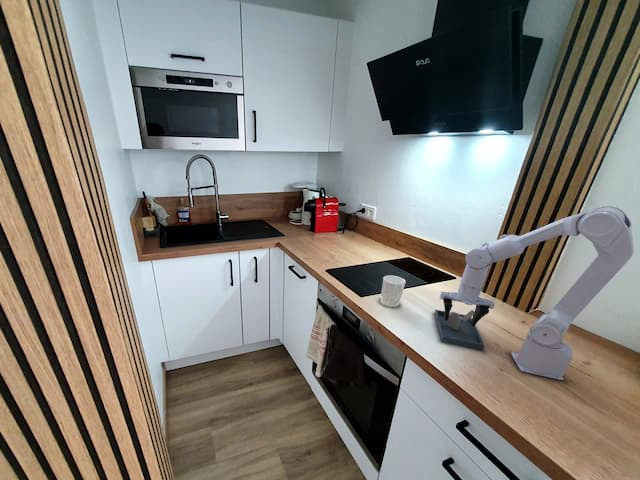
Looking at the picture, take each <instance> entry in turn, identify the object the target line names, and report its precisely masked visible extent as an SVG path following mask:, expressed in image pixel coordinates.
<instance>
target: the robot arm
mask: <svg viewBox="0 0 640 480" xmlns="http://www.w3.org/2000/svg"><path fill="white" fill-rule="evenodd" d="M632 227H633V226H632V221H631V219H630V218H629V217H628V216H627V214H626V213H625V211H624V210H622V209H620V208H619V207H616V206H611V205H609V206H608V205H607V206H606V205H605V206H600V207H597V208H595V209H592V210H591V211H590V212H589V211H584V212H580V213H577V214H573V215H570V216H566V217H563V218H561V219H559V220H555V221H553V222H551V223H549V224H547V225H544V226H541V227H539V228H537V229H534V230H531V231H529V232H527V233H525V234H522V235H517V234H508V235H507V234H503V235H500V236H499V238H498V239H496V240H493V241H491V242H483V243H482V244H481V246H478V247H476V248H472V249H471V250H470V251H468V252H467V253H466V255H465V263H466V265H465V267H464V270H463V274H462V277H461V280H460V283H459V285H458V289H457V292H455V291H454V292H453V291H452V292H451V291H450V292H449V291H440V294H439V299H440V300H442V301H443V306H444V311H445V316H444V319H445V321H447V320H448V317H449V313H450V312H451V310H452V308H453V302H458V303H464V304H465V305H467V306H473V305H475V308H474V312H475V315H473V316H472V317H471V318H472V320H471V325H472V326H473V327H474V326H476V325H477V323H478V322H479V321H480V320H481V319H482V318H484V317H485V316H487V315H488V314H489V313H490V310H493V309H494V308H495V304H496V303H495V301H494V300H491V299H487V298H484V297H481V296H480V295H481V292H482V289H483V286H484V284H485V280H486V278H487V275H488V270H489V268H490V265H491V264H493V263H498V262H501V261H504V260H507V259H509V258H512V257H515V256H519V255H522V254H523V252H524V251H525V249H526V247H529V246H532V245H535V244H538V243H541V242H544V241H547V240H550V239H553V238H556V237H559V236H570V237H578V236H579V235H580V234H581V235H582V236H583V237H584V238H585V239H587V240H588V241H590V242H591V243H592V245H593V247H594V249H595V251H596V252H597V256H596V257H595V258H594V260H593V261H592V262H591V263H590V264H589V266H587V268H586V269H585V270H584V272H583V273H581V275H580V276H579V277H578V279H577V280H576V281H575V282H574V283H573V284H572V286H571V287H570V288H569V289H568V290H567V291H566V293H565V294H564V295H563V296H562V297H561V299H559V301H558V302H557V303H556V304H555V305H554V307H553V308H552V309H551V310H550V311H548V312H545V313H543V314H541V315H540V316H539V318H538V319H537V321H536V322H535V323H534V324H532V325H531V326H530V328H529V331H527V334H526V336H525V338H524V341H523V342H522V345H521V347H520V350H519V352H518V353H517V352H513V351H512V352H510V355H511V357H512V359H513V360H514V363H515V364H516V365H517V367H518V369H519V371H521V372H523V373H527V374H532V375H535V376H542V377H545V378H550V379H554V380H559V381H564V377H563V376H564V375H565V372H566V371H567V370H568V367H569V366H570V364H571V362H572V359H573V355H574V354H573V353H574V352H573V349H572V346H570V344H569V343H566V342H564V341H563V340H564V336H565V335H566V334H567V333H568V332H569V330H570V329H571V324H572V323H573V322H574V320H575V319H576V318H577V317H578V316H579V315H580V314H581V313H582V312H583V310H584V309H585V308H586V307H587V306H588V305H589V304H590V303H591V302H592V301H593V300H594V299H595V297H597V296H598V295H599V293H600V292H601V291H602V290H603V289H604V288H605V287H606V285H607V284H609V282H610V281H611V280H612V279H613V278H614V277H615V276H616V275H617V273H619V271H620V270H621V269H622V268H623V267H624V266H625V265H626V264H627V263H628V262H629V261H630V260H631V259H632V257H633V255H634V252H635V249H634V239H633V228H632Z"/></svg>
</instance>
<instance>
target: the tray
mask: <svg viewBox="0 0 640 480" xmlns="http://www.w3.org/2000/svg"><path fill="white" fill-rule="evenodd" d="M451 312H452V311H450V313H451ZM465 315H466V314H461V313H459V316H461V317H464V316H465ZM444 316H445V310H440V309H435V310H434V313H433V317H434V319H435V323H436V328H437V331H438V335H439V339H440V342H441V343H445V344H449V345H454V346H459V347H464V348H469V349H473V350H478V351H483V350H484V348H485V343H484V341H483V339H482V337H481V335H480V333H479V331H478V328H477V327H476V325H475V326H474V327H473V326H472V325H471V320H472V318H473V317H471V318H469V319H468V320H467V321H466V322H464V321H463V320H462V321H461V324H460V327H459V329H458V330H456V329H453V328H451V327H448V326H446V325H444V324H445V319H444Z"/></svg>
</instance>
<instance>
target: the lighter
mask: <svg viewBox="0 0 640 480" xmlns="http://www.w3.org/2000/svg"><path fill="white" fill-rule="evenodd" d="M450 312H451V313H449V317H448V320H447V321H445V324H444V325H446V326H448V327H451V328H453V329H456V330H458V329H459V327H460V324H461V321H462V320H463V321H464V322H466V321H467V320H468V319H469V318H473V315H475V310H473V309H471V310H470V311H469V312H467V313H466V314H464V315H465V316H464V317H461V316H459V314H460V313H459V312H456V311H450Z"/></svg>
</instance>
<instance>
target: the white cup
mask: <svg viewBox="0 0 640 480" xmlns="http://www.w3.org/2000/svg"><path fill="white" fill-rule="evenodd" d="M405 285H406V280H405V279H404V278H403V277H400V276H397V275H393V274H392V275H391V274H389V275H385V276H383V277H382V284H381V292H380V303H381V304H382V305H383V306H385V307H389V308H396V307H398V306H399V305H400V302H401V299H402V296H403V292H404V289H405Z"/></svg>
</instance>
